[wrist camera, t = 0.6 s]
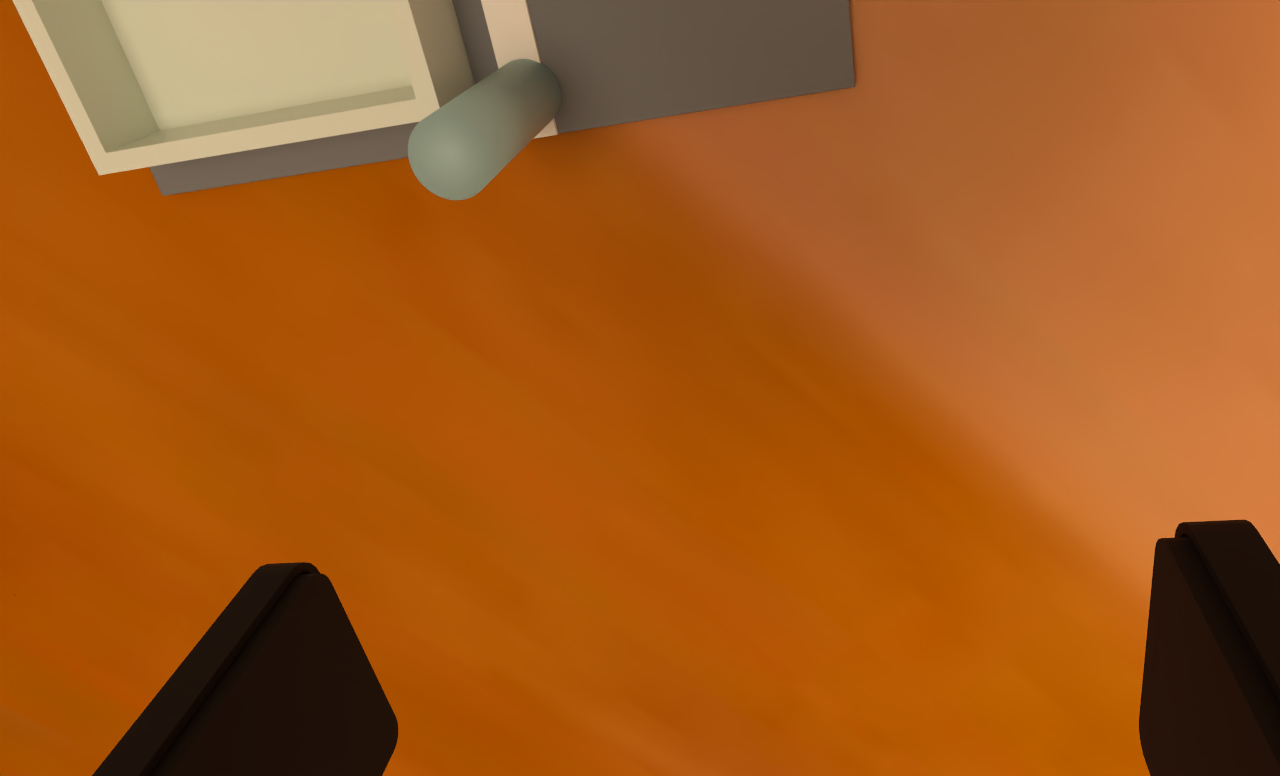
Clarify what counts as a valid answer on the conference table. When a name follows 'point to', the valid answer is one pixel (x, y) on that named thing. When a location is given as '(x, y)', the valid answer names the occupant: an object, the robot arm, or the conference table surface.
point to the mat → (597, 71)
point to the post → (483, 129)
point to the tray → (242, 71)
